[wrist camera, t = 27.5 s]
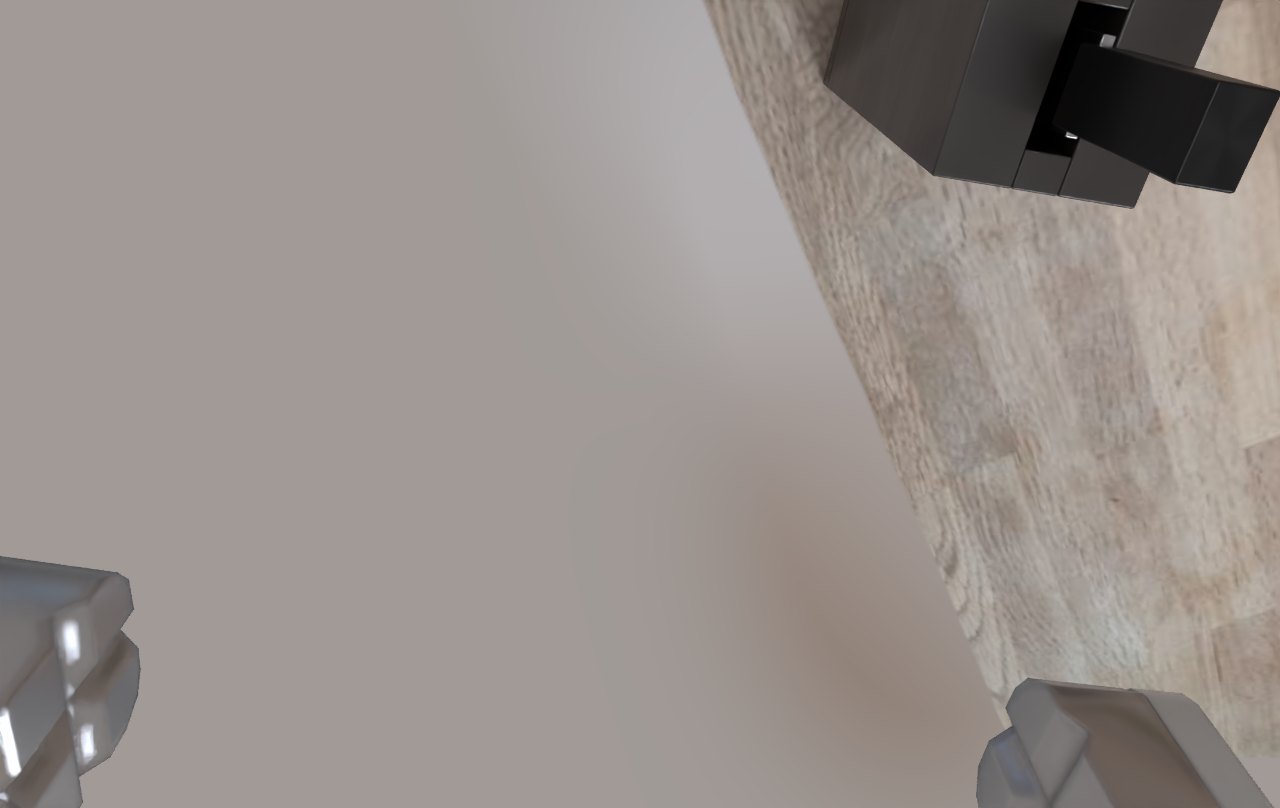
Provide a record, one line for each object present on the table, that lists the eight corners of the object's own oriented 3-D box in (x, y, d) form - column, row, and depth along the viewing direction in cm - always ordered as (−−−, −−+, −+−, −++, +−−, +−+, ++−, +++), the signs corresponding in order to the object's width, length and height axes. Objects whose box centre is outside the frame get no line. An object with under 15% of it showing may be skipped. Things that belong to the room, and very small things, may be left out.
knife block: (823, 83, 46) (932, 176, 30) (862, -73, 42) (1007, -65, 26) (957, 107, 46) (1134, 209, 30) (1006, -46, 43) (1233, -21, 27)
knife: (892, 54, 44) (1167, 196, 22) (911, -14, 43) (1224, 65, 21) (924, 59, 44) (1229, 206, 22) (944, -8, 43) (1290, 77, 21)
